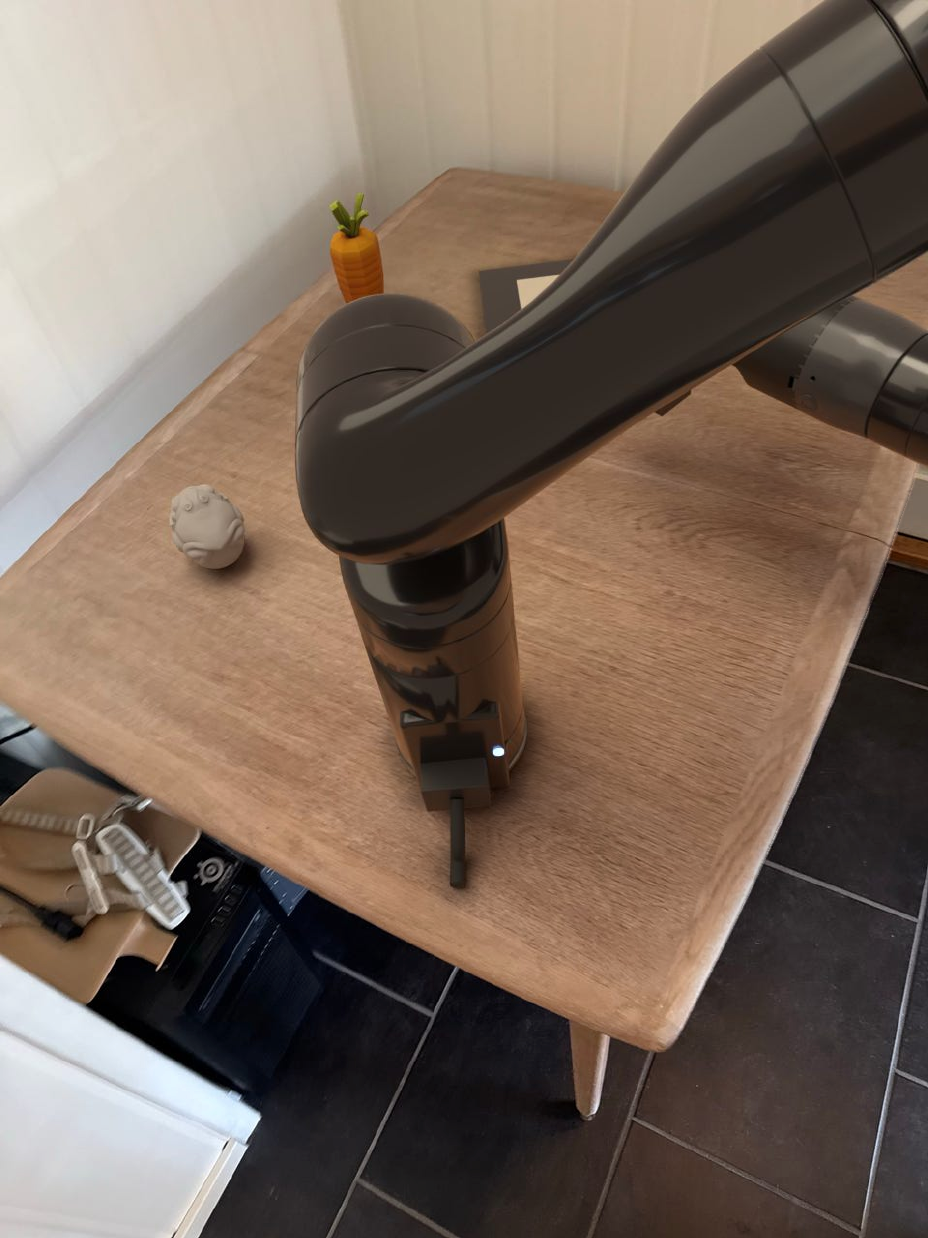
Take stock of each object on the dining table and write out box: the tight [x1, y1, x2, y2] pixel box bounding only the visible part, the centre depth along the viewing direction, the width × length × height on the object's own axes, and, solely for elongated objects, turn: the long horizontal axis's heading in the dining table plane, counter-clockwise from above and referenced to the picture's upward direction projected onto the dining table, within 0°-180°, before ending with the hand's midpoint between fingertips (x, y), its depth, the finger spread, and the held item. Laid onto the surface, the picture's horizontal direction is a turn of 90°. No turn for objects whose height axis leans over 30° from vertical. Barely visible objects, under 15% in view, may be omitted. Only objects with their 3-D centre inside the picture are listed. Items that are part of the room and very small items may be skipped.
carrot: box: [329, 192, 385, 304], centre depth 88 cm, size 5×5×15 cm
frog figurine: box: [169, 483, 246, 570], centre depth 74 cm, size 6×7×7 cm
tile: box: [478, 258, 575, 335], centre depth 91 cm, size 22×18×1 cm
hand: (630, 267), depth 65 cm, fingers closed on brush, 2 cm apart
